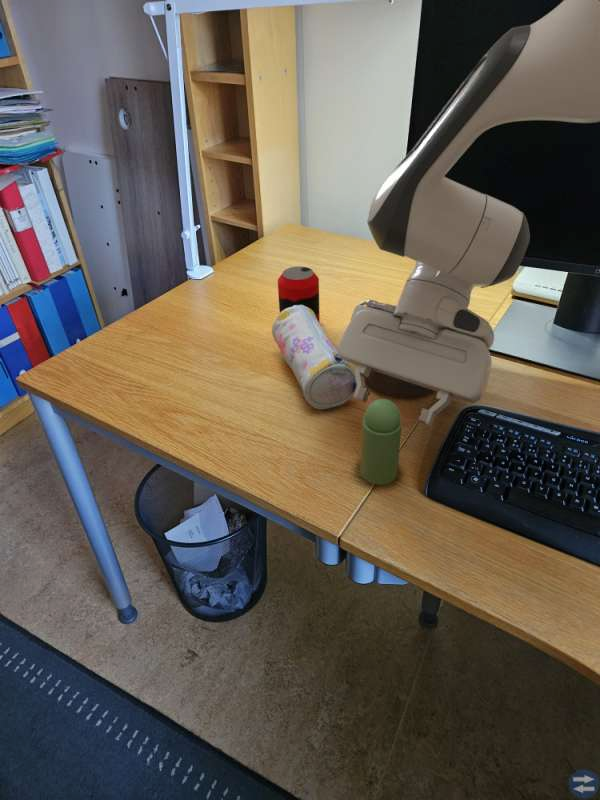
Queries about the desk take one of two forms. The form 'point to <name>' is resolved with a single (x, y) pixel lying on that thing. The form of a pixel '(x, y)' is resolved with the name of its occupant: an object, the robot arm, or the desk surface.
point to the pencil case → (313, 358)
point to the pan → (394, 386)
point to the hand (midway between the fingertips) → (390, 411)
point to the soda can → (299, 289)
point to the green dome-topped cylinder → (380, 442)
